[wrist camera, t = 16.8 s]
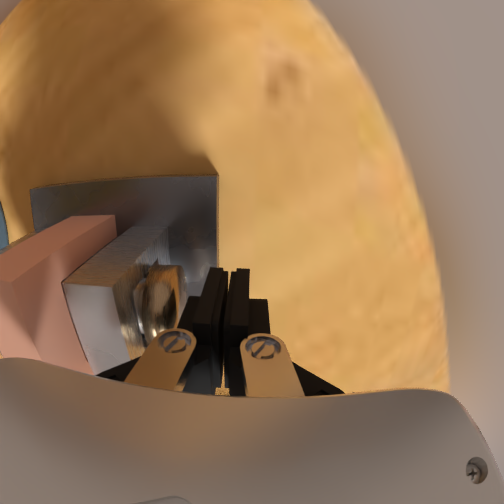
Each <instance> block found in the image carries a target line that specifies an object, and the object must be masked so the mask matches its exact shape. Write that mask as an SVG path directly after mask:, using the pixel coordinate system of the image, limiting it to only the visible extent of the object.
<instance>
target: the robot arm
mask: <svg viewBox="0 0 504 504" xmlns="http://www.w3.org/2000/svg"><path fill="white" fill-rule="evenodd" d="M249 274H250V269H241V268H237V271H236V272H231V278H230V284H229V291H228V271H223V268H217V267H210V269H209V272H208V275H207V278H206V281H205V284H204V287H203V290H202V293H201V296H189V297H188V300H187V302H186V305H185V307H184V310H183V312H182V315H181V318H180V320H179V323H178V326H177V328H173V329H167V330H164V331H162V332H160V333H158V334H157V335H156V336H155V337H154V339H153V340H152V341H151V343H150V344H149V346H148V347H147V349H146V350H145V351H144V353H143V354H142V356H140V357H137V358H135V359H133V360H130V361H128V362H125V363H123V364H120V365H118V366H115V367H113V368H111V369H108V370H105V371H103V372H101V373H99V374H97V375H96V376H95V375H91V374H87V373H83V372H79V371H76V370H72V369H69V368H65V367H61V366H57V365H54V364H50V363H47V362H44V361H39V360H35V359H30V358H21V357H8V358H2V359H0V504H504V481H503V478H502V476H501V473H500V471H499V468H498V466H497V463H496V461H495V459H494V457H493V454H492V452H491V450H490V448H489V446H488V444H487V442H486V440H485V438H484V437H483V435H482V433H481V431H480V429H479V428H478V426H477V425H476V423H475V421H474V420H473V418H472V417H471V415H470V414H469V412H468V411H467V410H466V408H465V407H464V406H463V405H462V404H461V403H460V402H459V401H458V400H457V399H456V398H455V397H454V396H452V395H450V394H448V393H445V392H442V391H438V390H433V389H425V388H396V389H385V390H377V391H367V392H356V393H355V392H352V393H347V394H345V393H344V392H343V391H341V390H340V389H339V388H337V387H335V386H333V385H332V384H330V383H328V382H326V381H324V380H323V379H321V378H319V377H317V376H316V375H314V374H312V373H310V372H309V371H307V370H305V369H304V368H302V367H300V366H299V365H297V364H295V363H294V362H292V361H291V358H290V356H289V353H288V350H287V348H286V345H285V344H284V342H283V341H282V340H281V339H280V338H278V337H276V336H274V335H271V334H270V323H269V312H268V301H267V299H249ZM223 366H224V377H225V388H229V395H231V396H225V395H215V389H216V387H218V388H221V384H222V375H223Z"/></svg>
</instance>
